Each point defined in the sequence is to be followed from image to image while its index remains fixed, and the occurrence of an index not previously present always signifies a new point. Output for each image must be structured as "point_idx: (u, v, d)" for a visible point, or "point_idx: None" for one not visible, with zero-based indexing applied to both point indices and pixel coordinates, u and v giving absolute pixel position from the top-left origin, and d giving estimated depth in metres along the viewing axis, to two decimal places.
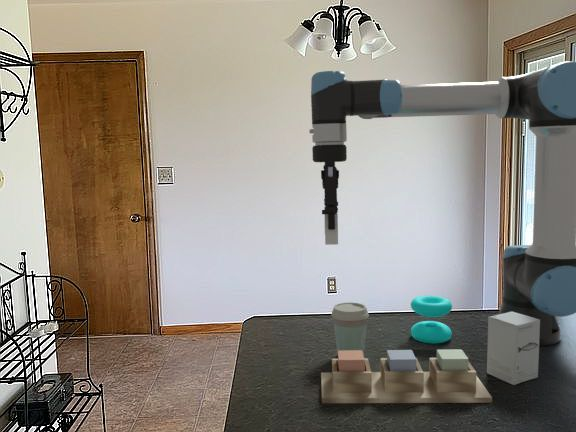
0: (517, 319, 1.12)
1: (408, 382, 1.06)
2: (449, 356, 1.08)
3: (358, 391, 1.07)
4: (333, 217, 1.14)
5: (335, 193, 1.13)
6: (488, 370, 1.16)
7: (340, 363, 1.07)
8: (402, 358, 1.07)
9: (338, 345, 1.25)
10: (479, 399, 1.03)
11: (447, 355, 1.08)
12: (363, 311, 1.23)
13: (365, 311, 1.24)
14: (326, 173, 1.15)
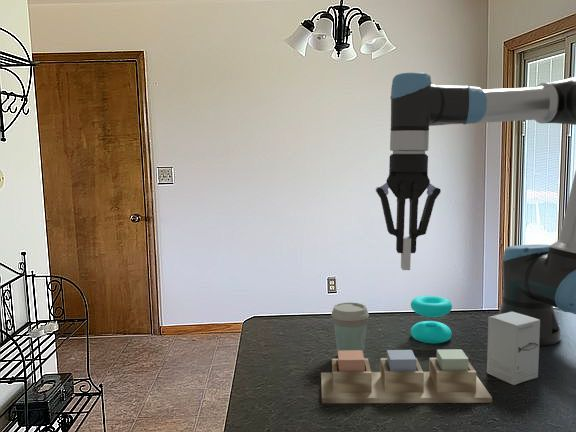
0: (517, 319, 1.12)
1: (408, 382, 1.06)
2: (449, 356, 1.08)
3: (358, 391, 1.07)
4: (397, 240, 1.11)
5: (385, 216, 1.10)
6: (488, 370, 1.16)
7: (340, 363, 1.07)
8: (402, 358, 1.07)
9: (338, 345, 1.25)
10: (479, 399, 1.03)
11: (447, 355, 1.08)
12: (363, 311, 1.23)
13: (365, 311, 1.24)
14: (378, 194, 1.11)
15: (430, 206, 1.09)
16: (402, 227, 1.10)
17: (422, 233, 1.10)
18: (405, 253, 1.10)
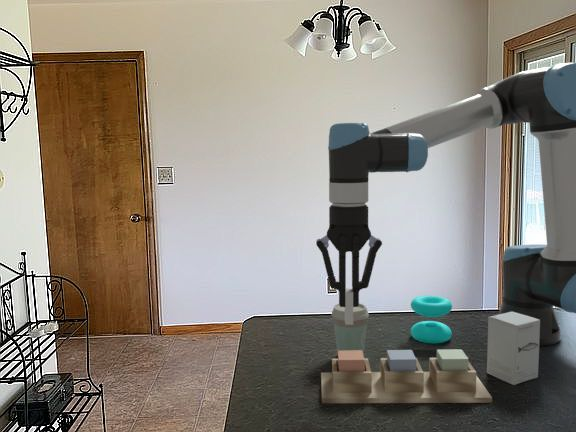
0: (517, 319, 1.12)
1: (408, 382, 1.06)
2: (449, 356, 1.08)
3: (358, 391, 1.07)
4: (339, 293, 1.07)
5: (326, 270, 1.06)
6: (488, 370, 1.16)
7: (340, 363, 1.07)
8: (402, 358, 1.07)
9: (338, 345, 1.25)
10: (479, 399, 1.03)
11: (447, 355, 1.08)
12: (363, 311, 1.23)
13: (365, 311, 1.24)
14: None
15: (372, 259, 1.06)
16: (343, 281, 1.06)
17: (364, 286, 1.06)
18: (347, 307, 1.07)
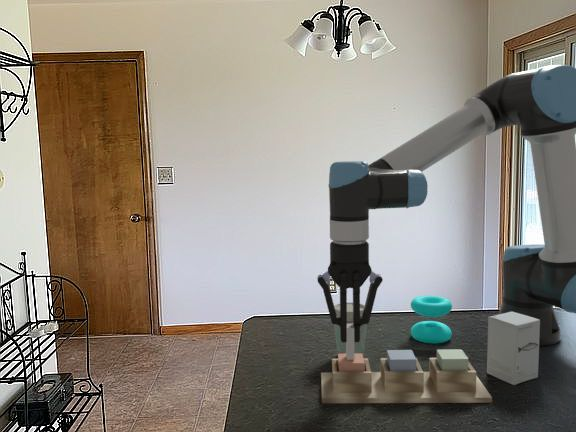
0: (517, 319, 1.12)
1: (408, 382, 1.06)
2: (449, 356, 1.08)
3: (358, 391, 1.07)
4: (340, 329, 1.08)
5: (327, 306, 1.07)
6: (488, 370, 1.16)
7: (340, 366, 1.07)
8: (402, 358, 1.07)
9: (338, 345, 1.25)
10: (479, 399, 1.03)
11: (447, 355, 1.08)
12: None
13: None
14: None
15: (372, 295, 1.07)
16: (345, 316, 1.07)
17: (365, 322, 1.07)
18: (349, 343, 1.08)
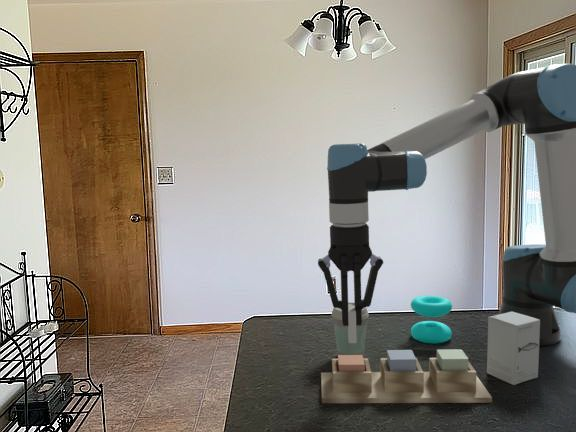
0: (517, 319, 1.12)
1: (408, 382, 1.06)
2: (449, 356, 1.08)
3: (358, 391, 1.07)
4: (342, 312, 1.08)
5: (328, 289, 1.07)
6: (488, 370, 1.16)
7: (340, 368, 1.07)
8: (402, 358, 1.07)
9: (338, 345, 1.25)
10: (479, 399, 1.03)
11: (447, 355, 1.08)
12: (363, 311, 1.23)
13: (365, 311, 1.24)
14: None
15: (373, 277, 1.06)
16: (346, 300, 1.07)
17: (367, 305, 1.07)
18: (350, 326, 1.07)
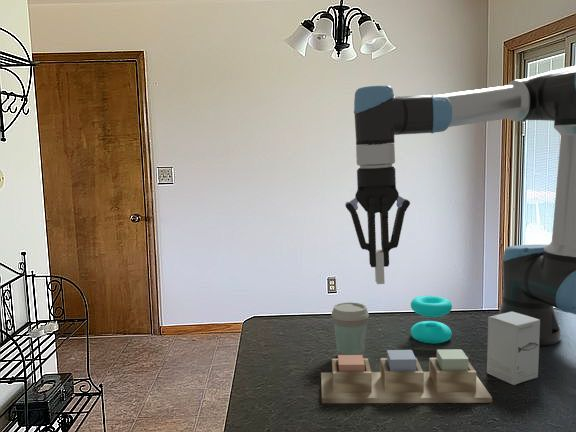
0: (517, 319, 1.12)
1: (408, 382, 1.06)
2: (449, 356, 1.08)
3: (358, 391, 1.07)
4: (369, 254, 1.10)
5: (356, 231, 1.09)
6: (488, 370, 1.16)
7: (340, 368, 1.07)
8: (402, 358, 1.07)
9: (338, 345, 1.25)
10: (479, 399, 1.03)
11: (447, 355, 1.08)
12: (363, 311, 1.23)
13: (365, 311, 1.24)
14: None
15: (400, 219, 1.08)
16: (374, 241, 1.09)
17: (394, 246, 1.09)
18: (378, 267, 1.10)
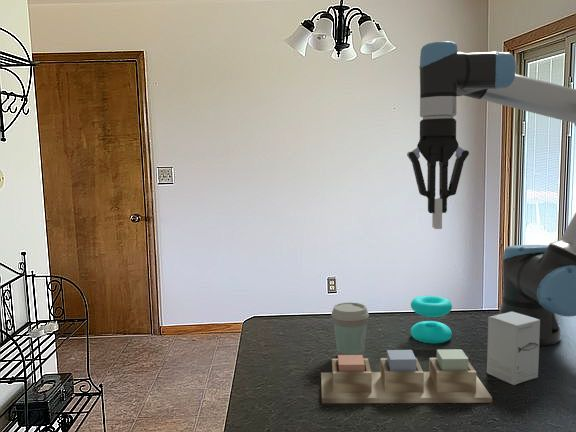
0: (517, 319, 1.12)
1: (408, 382, 1.06)
2: (449, 356, 1.08)
3: (358, 391, 1.07)
4: (428, 201, 1.18)
5: (417, 179, 1.17)
6: (488, 370, 1.16)
7: (340, 368, 1.07)
8: (402, 358, 1.07)
9: (338, 345, 1.25)
10: (479, 399, 1.03)
11: (447, 355, 1.08)
12: (363, 311, 1.23)
13: (365, 311, 1.24)
14: (410, 159, 1.19)
15: (459, 168, 1.16)
16: (433, 188, 1.17)
17: (452, 193, 1.17)
18: (437, 213, 1.18)
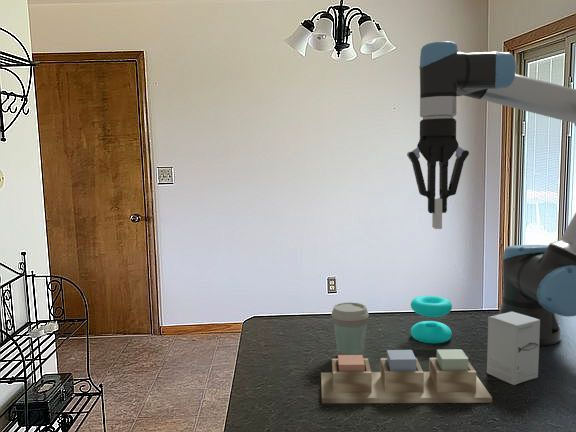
0: (517, 319, 1.12)
1: (408, 382, 1.06)
2: (449, 356, 1.08)
3: (358, 391, 1.07)
4: (428, 201, 1.18)
5: (417, 179, 1.17)
6: (488, 370, 1.16)
7: (340, 368, 1.07)
8: (402, 358, 1.07)
9: (338, 345, 1.25)
10: (479, 399, 1.03)
11: (447, 355, 1.08)
12: (363, 311, 1.23)
13: (365, 311, 1.24)
14: (410, 159, 1.19)
15: (459, 167, 1.16)
16: (433, 188, 1.17)
17: (452, 193, 1.17)
18: (437, 213, 1.18)
